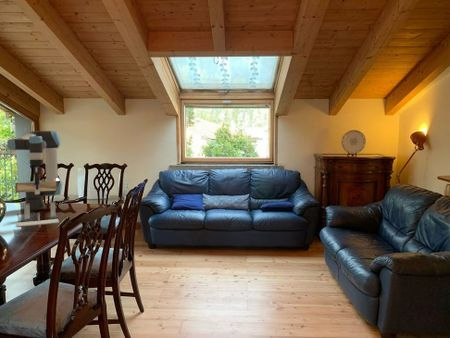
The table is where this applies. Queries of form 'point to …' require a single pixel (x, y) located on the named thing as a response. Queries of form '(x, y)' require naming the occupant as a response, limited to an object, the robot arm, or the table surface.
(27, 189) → the rail
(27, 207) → the post near
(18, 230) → the table surface
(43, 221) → the mat
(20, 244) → the table surface
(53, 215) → the post far
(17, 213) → the table surface
